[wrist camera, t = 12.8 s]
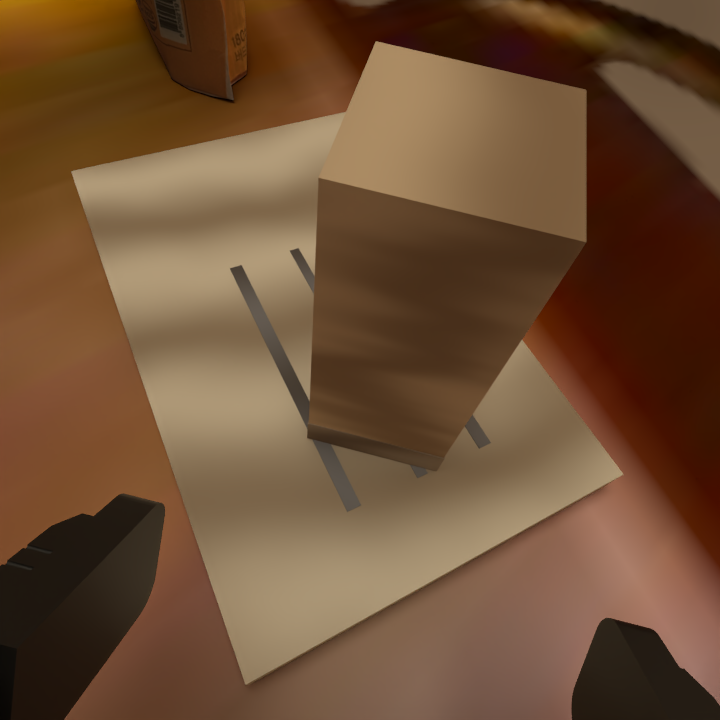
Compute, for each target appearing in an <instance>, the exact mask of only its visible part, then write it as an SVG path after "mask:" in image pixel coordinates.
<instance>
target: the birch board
mask: <svg viewBox="0 0 720 720" xmlns="http://www.w3.org/2000/svg"><path fill="white" fill-rule="evenodd" d="M345 114H346V112H344V113H340V114H335V115H330V116H326V117H321V118H316V119H312V120H307V121H302V122H298V123H293V124H288V125H284V126H279V127H274V128H270V129H265V130H260V131H256V132H251V133H247V134H242V135H237V136H233V137H228V138H223V139H219V140H214V141H209V142H205V143H200V144H195V145H191V146H186V147H181V148H177V149H172V150H167V151H163V152H158V153H154V154H149V155H144V156H140V157H135V158H130V159H126V160H121V161H116V162H112V163H107V164H102V165H98V166H93V167H88V168H84V169H79V170H75V171H71V172H72V175H73V178H74V181H75V184H76V187H77V190H78V193H79V196H80V199H81V202H82V205H83V208H84V211H85V214H86V217H87V219H88V222H89V225H90V228H91V231H92V234H93V237H94V240H95V243H96V246H97V249H98V252H99V255H100V258H101V261H102V264H103V267H104V270H105V272H106V275H107V278H108V281H109V284H110V287H111V290H112V293H113V296H114V299H115V302H116V305H117V308H118V311H119V314H120V317H121V320H122V323H123V326H124V328H125V331H126V334H127V337H128V340H129V343H130V346H131V349H132V352H133V355H134V358H135V361H136V364H137V367H138V370H139V373H140V376H141V379H142V381H143V384H144V387H145V390H146V393H147V396H148V399H149V402H150V405H151V408H152V411H153V414H154V417H155V420H156V423H157V426H158V429H159V432H160V434H161V437H162V440H163V443H164V446H165V449H166V452H167V455H168V458H169V461H170V464H171V467H172V470H173V473H174V476H175V479H176V482H177V485H178V487H179V490H180V493H181V496H182V499H183V502H184V505H185V508H186V511H187V514H188V517H189V520H190V523H191V526H192V529H193V532H194V535H195V538H196V540H197V543H198V546H199V549H200V552H201V555H202V558H203V561H204V564H205V567H206V570H207V573H208V576H209V579H210V582H211V585H212V588H213V591H214V594H215V596H216V599H217V602H218V605H219V608H220V611H221V614H222V617H223V620H224V623H225V626H226V629H227V632H228V635H229V638H230V641H231V644H232V647H233V649H234V652H235V655H236V658H237V661H238V664H239V667H240V670H241V673H242V676H243V679H244V682H245V685H249V684H252V683H253V682H255V681H257V680H259V679H260V678H262V677H264V676H266V675H268V674H269V673H271V672H273V671H275V670H277V669H278V668H280V667H282V666H284V665H286V664H287V663H289V662H291V661H293V660H294V659H296V658H298V657H300V656H302V655H303V654H305V653H307V652H309V651H311V650H312V649H314V648H316V647H318V646H320V645H321V644H323V643H325V642H327V641H328V640H330V639H332V638H334V637H336V636H337V635H339V634H341V633H343V632H345V631H346V630H348V629H350V628H352V627H354V626H355V625H357V624H359V623H361V622H363V621H364V620H366V619H368V618H370V617H371V616H373V615H375V614H377V613H379V612H380V611H382V610H384V609H386V608H388V607H389V606H391V605H393V604H395V603H397V602H398V601H400V600H402V599H404V598H405V597H407V596H409V595H411V594H413V593H414V592H416V591H418V590H420V589H422V588H423V587H425V586H427V585H429V584H431V583H432V582H434V581H436V580H438V579H439V578H441V577H443V576H445V575H447V574H448V573H450V572H452V571H454V570H456V569H457V568H459V567H461V566H463V565H465V564H466V563H468V562H470V561H472V560H474V559H475V558H477V557H479V556H481V555H482V554H484V553H486V552H488V551H490V550H491V549H493V548H495V547H497V546H499V545H500V544H502V543H504V542H506V541H508V540H509V539H511V538H513V537H515V536H516V535H518V534H520V533H522V532H524V531H525V530H527V529H529V528H531V527H533V526H534V525H536V524H538V523H540V522H542V521H543V520H545V519H547V518H549V517H550V516H552V515H554V514H556V513H558V512H559V511H561V510H563V509H565V508H567V507H568V506H570V505H572V504H574V503H576V502H577V501H579V500H581V499H583V498H585V497H586V496H588V495H590V494H592V493H593V492H595V491H597V490H599V489H601V488H602V487H604V486H606V485H607V484H609V483H610V482H612V481H614V480H615V479H617V478H618V477H620V476H622V475H623V473H622V472H621V470H620V469H619V468H618V466H617V465H616V464H615V462H614V461H613V460H612V458H611V457H610V456H609V454H608V453H607V452H606V450H605V449H604V448H603V446H602V445H601V444H600V442H599V441H598V440H597V439H596V437H595V436H594V435H593V433H592V432H591V431H590V429H589V428H588V427H587V425H586V424H585V423H584V421H583V420H582V419H581V417H580V416H579V415H578V413H577V412H576V411H575V409H574V408H573V407H572V405H571V404H570V403H569V401H568V400H567V399H566V397H565V396H564V395H563V393H562V392H561V391H560V389H559V388H558V387H557V386H556V384H555V383H554V382H553V380H552V379H551V378H550V376H549V375H548V374H547V372H546V371H545V370H544V368H543V367H542V366H541V364H540V363H539V362H538V360H537V359H536V358H535V356H534V355H533V354H532V352H531V351H530V350H529V348H528V347H527V346H526V344H525V343H524V342H523V340H521V342H520V343H519V345H518V346H517V348H516V349H515V351H514V352H513V354H512V355H511V357H510V358H509V360H508V361H507V363H506V364H505V366H504V368H503V369H502V371H501V372H500V374H499V375H498V377H497V378H496V380H495V381H494V383H493V384H492V386H491V387H490V389H489V390H488V392H487V393H486V395H485V396H484V398H483V399H482V401H481V402H480V404H479V405H478V407H477V408H476V410H475V411H474V413H473V414H472V416H471V418H470V419H469V421H468V422H467V424H466V425H465V427H464V428H463V430H462V431H461V433H460V434H459V436H458V437H457V439H456V440H455V442H454V443H453V445H452V446H451V448H450V449H449V451H448V452H447V454H446V455H445V459H444V461H443V462H442V464H441V465H440V467H439V468H438V470H437V471H432V470H429V469H425V468H421V467H417V466H413V465H409V464H405V463H402V462H398V461H394V460H390V459H386V458H382V457H378V456H375V455H371V454H367V453H363V452H359V451H355V450H352V449H348V448H344V447H340V446H336V445H332V444H328V443H325V442H321V441H317V440H313V439H309V438H307V428H308V421H309V406H310V380H311V355H312V330H313V305H314V279H315V254H316V229H317V204H318V178H319V175H320V173H321V171H322V168H323V166H324V163H325V161H326V159H327V156H328V154H329V152H330V149H331V147H332V144H333V142H334V140H335V137H336V135H337V133H338V130H339V128H340V126H341V123H342V121H343V118H344V116H345Z"/></svg>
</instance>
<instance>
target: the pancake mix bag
mask: <svg viewBox="0 0 720 720" xmlns="http://www.w3.org/2000/svg"><path fill="white" fill-rule="evenodd" d="M136 2H137V5H138V7H139V9H140V12H141V14H142V16H143V18H144V20H145V22H146V25H147V27H148V29H149V31H150V33H151V35H152V37H153V39H154V42H155V44H156V46H157V48H158V50H159V52H160V54H161V56H162V58H163V60H164V63H165V65H166V67H167V69H168V72H169V74H170V76H171V79H173V80H174V81H176V82H178V83H180V84H181V85H183V86H185V87H187V88H188V89H191V90H194V91H197V92H200V93H204V94H207V95H210V96H215V97H220V98H225V99H230V100H234V98H233V92H232V87H231V85H232V84H233V83H235V82H236V81H238V80H239V79H241V78H242V77H243V76H245V75H246V74H247V31H246V15H245V5H244V0H136Z"/></svg>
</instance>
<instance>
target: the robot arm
mask: <svg viewBox="0 0 720 720" xmlns="http://www.w3.org/2000/svg"><path fill="white" fill-rule="evenodd" d="M164 517H165V507H164V505H163V504H162V503H159V502H155V501H151V500H147V499H143V498H139V497H135V496H131V495H127V494H120V495H118V496H117V497H116V498H114V499H113V500H112V501H111V502H110V503H109V504H107V505H106V506H105V507H104V508H103V509H102V510H100V511H99V512H98V513H97V514H96V515H95V516H90V515H86V514H80V515H77V516H75V517H72V518H70V519H67V520H65V521H62V522H60V523H57V524H55V525H53V526H51V527H49V528H48V529H47V530H46V531H44V532H43V533H42V534H40V535H39V536H38V537H37V538H35V539H34V540H33V541H32V542H30V543H29V544H28V546H27V548H26V549H25V548H23V549H21V550H20V551H19V552H18V553H16V554H15V555H14V556H12V557H11V558H10V559H9V560H8V561H7V563H6V565H3V564H2V565H1V566H0V720H64V719H65V717H66V716H67V714H68V713H69V712H70V710H71V709H72V708H73V706H74V705H75V703H76V702H77V701H78V699H79V698H80V697H81V695H82V694H83V692H84V691H85V690H86V688H87V687H88V686H89V684H90V683H91V681H92V680H93V679H94V677H95V676H96V675H97V673H98V672H99V670H100V669H101V668H102V666H103V665H104V664H105V662H106V661H107V659H108V658H109V657H110V655H111V654H112V652H113V651H114V650H115V648H116V647H117V646H118V644H119V643H120V641H121V640H122V639H123V637H124V636H125V635H126V633H127V632H128V630H129V629H130V628H131V626H132V625H133V624H134V622H135V621H136V619H137V618H138V617H139V615H140V614H141V612H142V610H143V609H144V607H145V605H146V603H147V601H148V598H149V596H150V593H151V591H152V588H153V584H154V580H155V575H156V569H157V562H158V556H159V549H160V543H161V536H162V530H163V523H164ZM572 720H720V706H719V704H718V703H717V701H716V700H715V698H714V697H713V696H712V695H710V694H709V693H708V692H707V691H706V690H705V689H704V688H703V687H702V686H701V685H700V684H699V683H698V682H697V681H696V680H695V679H694V678H693V677H692V676H691V675H690V674H689V673H688V672H687V671H686V670H685V669H682V668H680V667H679V666H678V664H677V663H676V661H675V660H674V658H673V657H672V655H671V654H670V652H669V651H668V649H667V647H666V646H665V644H664V643H663V641H662V640H661V638H660V637H659V635H658V634H657V633H656V632H655V631H654V630H652V629H650V628H646V627H643V626H639V625H635V624H631V623H627V622H623V621H619V620H615V619H611V618H605V619H603V620H602V621H601V622H600V624H599V625H598V628H597V630H596V632H595V635H594V638H593V640H592V643H591V645H590V648H589V651H588V653H587V656H586V658H585V661H584V664H583V666H582V669H581V671H580V674H579V677H578V679H577V682H576V684H575V687H574V691H573V696H572Z"/></svg>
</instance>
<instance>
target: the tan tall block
mask: <svg viewBox="0 0 720 720" xmlns="http://www.w3.org/2000/svg"><path fill="white" fill-rule="evenodd" d="M585 243H586V90H584V89H580V88H576V87H571V86H567V85H563V84H558V83H554V82H550V81H545V80H541V79H537V78H532V77H528V76H524V75H519V74H515V73H511V72H506V71H502V70H498V69H493V68H489V67H485V66H480V65H476V64H472V63H467V62H463V61H459V60H454V59H450V58H446V57H441V56H437V55H433V54H428V53H424V52H420V51H415V50H411V49H407V48H402V47H398V46H394V45H389V44H385V43H381V42H376V43H375V45H374V47H373V50H372V52H371V54H370V57H369V59H368V61H367V64H366V66H365V69H364V71H363V73H362V76H361V78H360V80H359V83H358V85H357V88H356V90H355V92H354V95H353V97H352V99H351V102H350V104H349V107H348V109H347V111H346V114H345V116H344V118H343V121H342V123H341V126H340V128H339V130H338V133H337V135H336V137H335V140H334V142H333V144H332V147H331V149H330V152H329V154H328V156H327V159H326V161H325V163H324V166H323V168H322V171H321V173H320V175H319V178H318V204H317V229H316V254H315V279H314V305H313V330H312V355H311V380H310V406H309V421H308V428H307V438H309V439H313V440H317V441H321V442H325V443H328V444H332V445H336V446H340V447H344V448H348V449H352V450H355V451H359V452H363V453H367V454H371V455H375V456H378V457H382V458H386V459H390V460H394V461H398V462H402V463H405V464H409V465H413V466H417V467H421V468H425V469H429V470H432V471H437V470H438V468H439V467H440V465H441V464H442V462H443V461H444V459H445V455H446V454H447V452H448V451H449V449H450V448H451V446H452V445H453V443H454V442H455V440H456V439H457V437H458V436H459V434H460V433H461V431H462V430H463V428H464V427H465V425H466V424H467V422H468V421H469V419H470V418H471V416H472V414H473V413H474V411H475V410H476V408H477V407H478V405H479V404H480V402H481V401H482V399H483V398H484V396H485V395H486V393H487V392H488V390H489V389H490V387H491V386H492V384H493V383H494V381H495V380H496V378H497V377H498V375H499V374H500V372H501V371H502V369H503V368H504V366H505V364H506V363H507V361H508V360H509V358H510V357H511V355H512V354H513V352H514V351H515V349H516V348H517V346H518V345H519V343H520V342H521V340H522V339H523V337H524V336H525V334H526V333H527V331H528V330H529V328H530V327H531V325H532V324H533V322H534V321H535V319H536V318H537V316H538V314H539V313H540V311H541V310H542V308H543V307H544V305H545V304H546V302H547V301H548V299H549V298H550V296H551V295H552V293H553V292H554V290H555V289H556V287H557V286H558V284H559V283H560V281H561V280H562V278H563V277H564V275H565V274H566V272H567V271H568V269H569V268H570V266H571V265H572V263H573V261H574V260H575V258H576V257H577V255H578V254H579V252H580V251H581V249H582V248H583V246H584V245H585Z"/></svg>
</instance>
